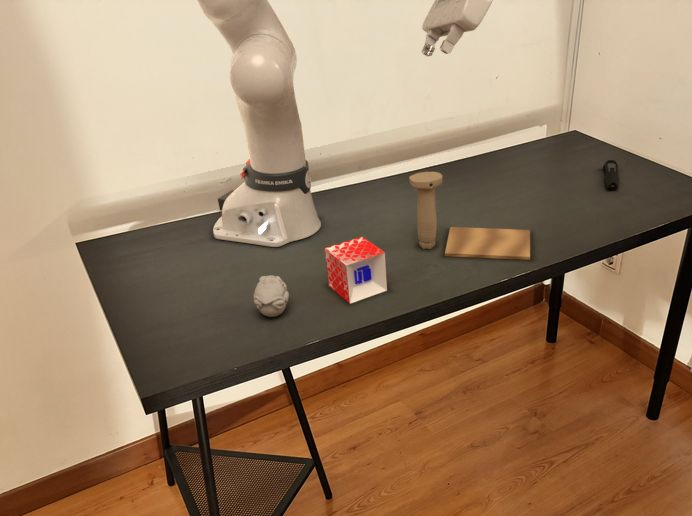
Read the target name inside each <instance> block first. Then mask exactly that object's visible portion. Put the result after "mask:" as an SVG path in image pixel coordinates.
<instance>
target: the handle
mask: <svg viewBox="0 0 692 516" xmlns="http://www.w3.org/2000/svg"><path fill="white" fill-rule="evenodd" d="M408 177H409V185H410V186H411V187H413V188H414V189H416V190H417V207H416V208H417V210H416V227H417V228H416V230H417V235H418V245H419V247H421V249H423V250H432V249H433V248H434V247H435V246H436V241H437V240H436V238H437V231H438V229H437V228H438V219H437V217H438V216H437V207H436V188H437V187H438V186H440V185H442V183H443V174H442V173H440V172H438V171H423V172H417V173H414V174H412V175H409V176H408Z"/></svg>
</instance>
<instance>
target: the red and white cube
mask: <svg viewBox="0 0 692 516" xmlns="http://www.w3.org/2000/svg"><path fill="white" fill-rule="evenodd" d="M324 256H325V264H326V274H327V281H328V287H329V288H330V289H332V290H333V291H334V292H335V293H336V294H338V295H339V296H340V297H341V298H343V300H344V301H346V302H347V303H348V304H350V305H351V304H353V303H357V302H359V301H362V300H364V299H367V298H370V297H373V296H375V295H378V294H382V293H384V292H387V291H388V283H387V267H386V252H385V251H384V250H382V249H381V248H379V247H378V246H377V245H375V244H374V243H372V242H371V241H370V240H368V239H367V238H365V237H364V236H359V237H356V238H353V239H349V240H346V241H343V242H340V243H337V244H334V245H330V246H328V247H324Z"/></svg>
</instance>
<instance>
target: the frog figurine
mask: <svg viewBox="0 0 692 516" xmlns="http://www.w3.org/2000/svg"><path fill="white" fill-rule="evenodd" d="M258 280H259V282H257V283H256V285H255V286H256V287H255V289H254V293H253V303H254V305H255V306H256V309H258V311H259V313H261V314H262V315H264V316H266V317H270V318H274V317H275V318H276V317H278V316H280V315H281V314H283V312H284V311H285V309H286V306H287V304H288V303H289V297H290V294H289V291H288V288H287V284H286V283H285V282H284V281H283V280H282V278H281V277H280V276H278V275H272V274H271V275H270V274H269V275H262V276H260V277H259V279H258Z"/></svg>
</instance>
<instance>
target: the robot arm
mask: <svg viewBox="0 0 692 516" xmlns="http://www.w3.org/2000/svg"><path fill="white" fill-rule="evenodd" d="M493 1H494V0H434V2H433V3H432V5H431V7H430V9H429V11H428V13H427V15H426V17H425V18H424V20H423V22H422V27H421V29H422V30H423V31H424V32H425V33H426V35H425V41H424V45H423V46H422V48H421V54H422V55H424V56H425V57H432V56H433V54H434V52H435V50H436V48H435V47H436V44H437V42H438V41H439V39H440V38H443V37H445V39H443V40H442V42H441V44H440V47H439V50H440V51H441V53H443V54H445V55H449V54H451V53H452V50H454V48H455V46H456V44H457V43H458V42H459V41H460V39H461V38H462V37H463V35H464V33H468V32H472V31H475V30H476V29H477V28H478V27H479V26H480V25H481V23H482V22H483V20H484V18H485V16H486V15H487V13H488V11H489V9H490V8H491V5H492V4H493ZM196 2H197V3H198V5H199V7H200V9H201V11H202V13H203V14H204V16H205V17H206V18H207V19H208V20H209V21H210V22H211V23H212V24H213V26H214V27H215V28H216V30H217V31H218V32H219V34H220V35H221V36H222V38H223V40H224V41H225V42H226V44H227V45H228V47H229V48H230V50H231V52H232V54H233V55H232V56H231V58H230V60H229V67H228V70H229V71H228V72H229V81H230V85H231V87H232V90H233V94H234V98H235V101H236V105H237V109H238V112H239V115H240V118H241V121H242V124H243V125H242V126H243V128H244V133H245V138H246V139H245V140H246V145H247V150H248V157H249V159H248V160H246V162H245V165H244V167H243V168H242V170H241V173H240V179H241V180H243V179H244V182H243V183H241V184H240V185H239V186H238V187H237V188H235V189H234V190H233V189H231V190H230V191H227V192H226V193H224V194H222V196H219V197H218V198H217V204H218V208H219V211H221V216H220V217H219V218H218V220H217V221H216V222H215V223H214V226H213V229H212V232H213V233H212V234H213V237H214V238H215V239H217V240H223V241H231V242H236V243H237V242H238V243H242V244H243V243H244V244H251V245H258V246H264V247H272V248H279V247H282V246H284V245H287V244H288V243H291V242H294V241H299V240H303V239H306V238H308V237H311V236H313V235H314V234H316V233H317V232H318V231H319V230H320V229H321V226H322V222H321V220H320V218H319V214H318V212H317V209H316V206H315V203H314V200H313V196H312V191H311V188H312V178H311V177H312V176H311V170H310V166H309V162H308V160H307V158H306V152H305V143H304V134H303V126H302V122H301V118H300V114H299V109H298V105H297V101H296V100H297V99H296V94H295V88H294V77H295V76H294V75H295V71H296V67H297V63H298V57H297V51H296V48H295V46H294V44H293V42H292V39H290V37H289V34H288V33H287V31H286V29H285V28H284V26H283V24H282V22H281V21H280V18H279V16H277V14H276V11H275V10H274V9H273V7H272V6H271V4H270V2H269V1H268V0H196Z"/></svg>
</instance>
